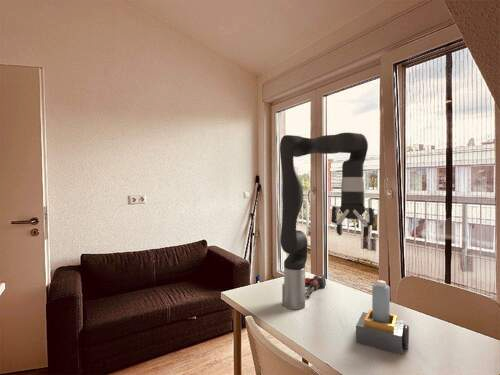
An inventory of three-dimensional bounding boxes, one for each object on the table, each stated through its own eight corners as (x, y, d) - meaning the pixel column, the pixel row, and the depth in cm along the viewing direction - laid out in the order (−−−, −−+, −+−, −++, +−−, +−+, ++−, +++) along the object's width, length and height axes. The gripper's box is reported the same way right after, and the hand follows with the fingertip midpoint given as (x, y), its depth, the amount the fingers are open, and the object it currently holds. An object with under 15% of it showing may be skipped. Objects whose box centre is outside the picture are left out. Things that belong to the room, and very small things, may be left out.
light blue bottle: (370, 324, 102) (371, 282, 101) (373, 318, 106) (373, 278, 106) (388, 328, 99) (388, 285, 98) (390, 322, 103) (390, 280, 103)
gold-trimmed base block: (355, 342, 101) (356, 319, 101) (363, 327, 112) (363, 306, 111) (406, 356, 93) (407, 331, 93) (409, 339, 104) (409, 316, 103)
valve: (301, 283, 166) (328, 282, 160) (288, 302, 143) (318, 303, 137) (299, 272, 166) (326, 271, 160) (285, 289, 143) (316, 289, 137)
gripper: (376, 190, 103) (375, 236, 104) (335, 189, 111) (335, 232, 111) (372, 190, 97) (371, 240, 97) (329, 190, 104) (329, 235, 105)
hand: (352, 236), depth 104 cm, fingers open, 8 cm apart
